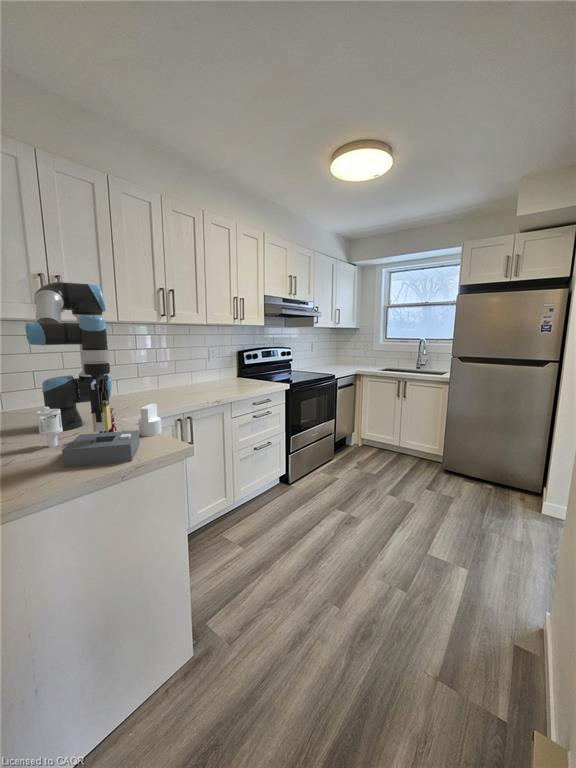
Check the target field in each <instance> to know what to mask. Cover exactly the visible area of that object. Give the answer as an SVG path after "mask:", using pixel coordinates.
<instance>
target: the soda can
mask: <svg viewBox="0 0 576 768" xmlns="http://www.w3.org/2000/svg"><path fill="white" fill-rule="evenodd" d="M110 414H111V424H112V427H111V428H110V430H109V431H99V432H98V433H108V432H118V423H117V413H116V412H115V410H114V408H113V407H110Z"/></svg>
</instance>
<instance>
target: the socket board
mask: <svg viewBox="0 0 576 768" xmlns="http://www.w3.org/2000/svg"><path fill="white" fill-rule="evenodd" d="M140 442H141V441H140V434H139V429H137V430H135V429H134V430H124V431H123V430H122V431H117V432H108V433H99V432H94V433H86V434H85V433H84V434H82V433H81V434H78V435H77V436H76V437H75V438H74V439H73V440H72V441H70V442H69V443H68V444H67V445H66V446H65V447H64V448H63V449H61V452H62V453H61V454H62V461H63V468H75V467H83V466H93V465H105V464H115V463H124V462H132V461H133V460H134V457H135V455H136V453H137V452H138V450H139V447H140V446H139V445H141V443H140Z"/></svg>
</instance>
